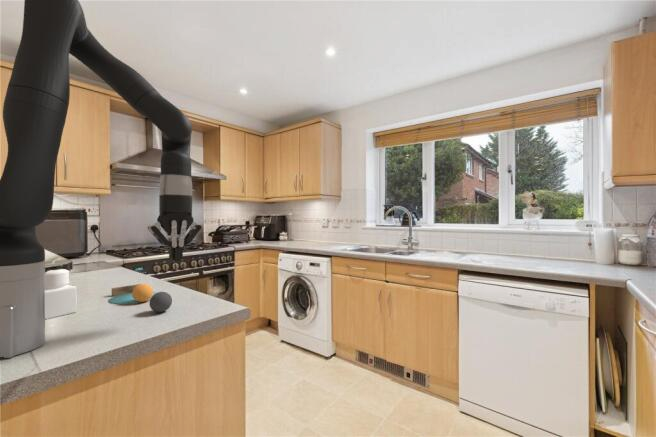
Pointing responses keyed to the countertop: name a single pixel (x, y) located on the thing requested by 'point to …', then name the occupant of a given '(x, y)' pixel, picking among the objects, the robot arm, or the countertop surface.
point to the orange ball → (142, 292)
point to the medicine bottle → (59, 294)
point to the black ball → (160, 302)
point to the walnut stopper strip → (123, 290)
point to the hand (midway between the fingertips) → (175, 261)
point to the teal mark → (125, 299)
